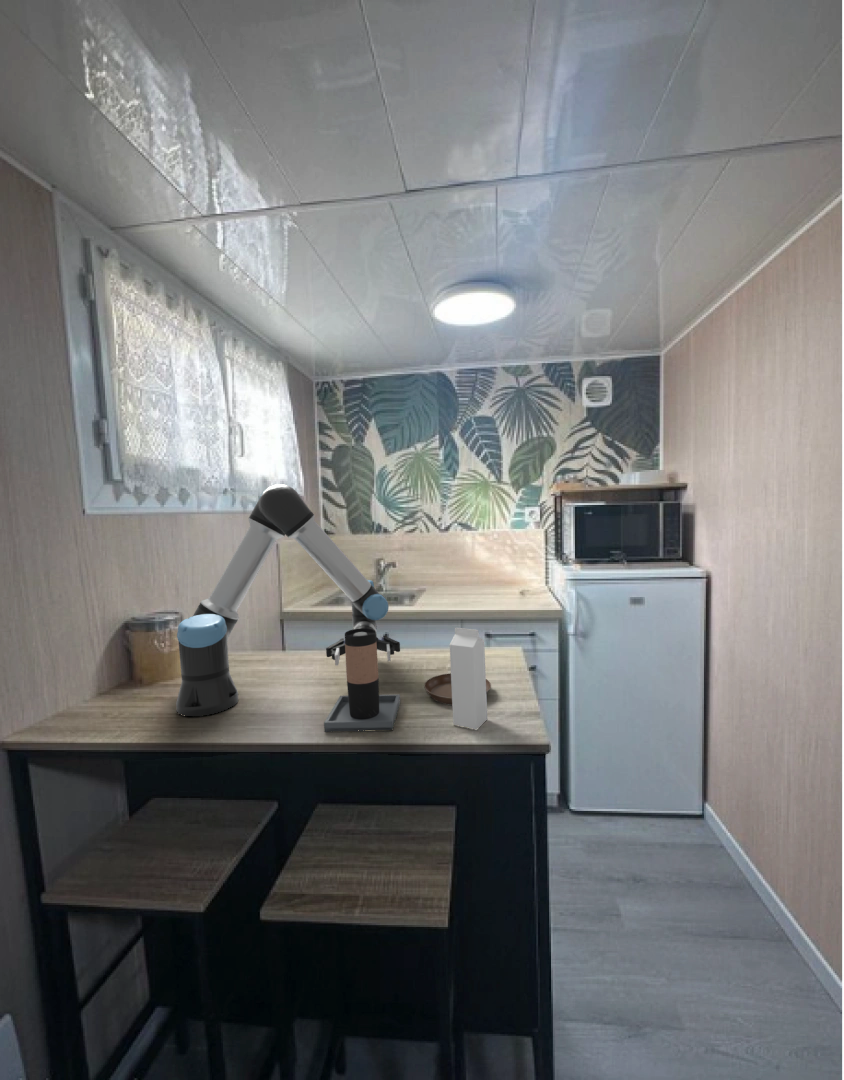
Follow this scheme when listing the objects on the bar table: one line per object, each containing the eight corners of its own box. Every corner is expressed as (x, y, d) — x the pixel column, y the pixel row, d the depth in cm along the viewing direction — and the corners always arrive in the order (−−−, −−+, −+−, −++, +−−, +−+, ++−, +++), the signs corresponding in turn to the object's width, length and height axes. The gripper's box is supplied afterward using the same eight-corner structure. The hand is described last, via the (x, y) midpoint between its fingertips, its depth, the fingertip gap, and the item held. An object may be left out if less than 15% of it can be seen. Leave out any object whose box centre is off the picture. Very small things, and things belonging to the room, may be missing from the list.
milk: (464, 715, 115) (460, 624, 114) (488, 720, 112) (484, 626, 111) (452, 725, 110) (448, 630, 109) (477, 731, 107) (472, 632, 106)
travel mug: (342, 713, 118) (337, 632, 116) (368, 704, 123) (364, 626, 121) (360, 723, 112) (355, 638, 111) (386, 712, 117) (382, 631, 116)
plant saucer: (502, 689, 131) (502, 678, 131) (471, 714, 116) (471, 702, 116) (446, 679, 141) (445, 668, 140) (411, 700, 126) (411, 689, 126)
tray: (324, 731, 110) (324, 722, 110) (340, 703, 126) (340, 695, 125) (392, 730, 109) (391, 721, 109) (400, 702, 125) (399, 694, 124)
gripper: (405, 645, 148) (411, 668, 127) (323, 652, 146) (315, 676, 125) (404, 621, 148) (409, 640, 127) (321, 627, 145) (313, 647, 124)
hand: (362, 658), depth 126 cm, fingers open, 13 cm apart
